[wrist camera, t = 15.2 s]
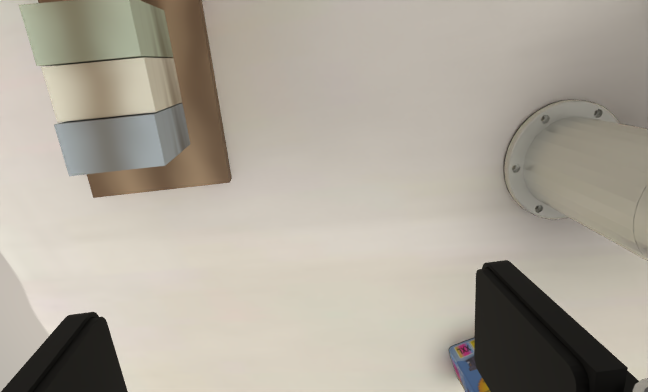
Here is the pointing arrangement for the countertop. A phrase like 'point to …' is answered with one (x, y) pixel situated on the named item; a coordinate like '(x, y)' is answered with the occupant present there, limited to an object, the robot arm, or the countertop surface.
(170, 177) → the walnut shelf
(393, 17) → the countertop surface
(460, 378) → the ink cartridge box
